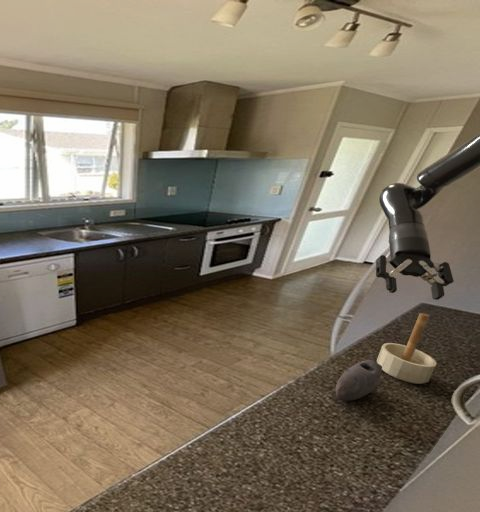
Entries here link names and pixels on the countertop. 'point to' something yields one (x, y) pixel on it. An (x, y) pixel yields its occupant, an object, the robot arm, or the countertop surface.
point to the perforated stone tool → (359, 380)
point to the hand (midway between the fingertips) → (414, 295)
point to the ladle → (415, 336)
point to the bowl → (406, 364)
